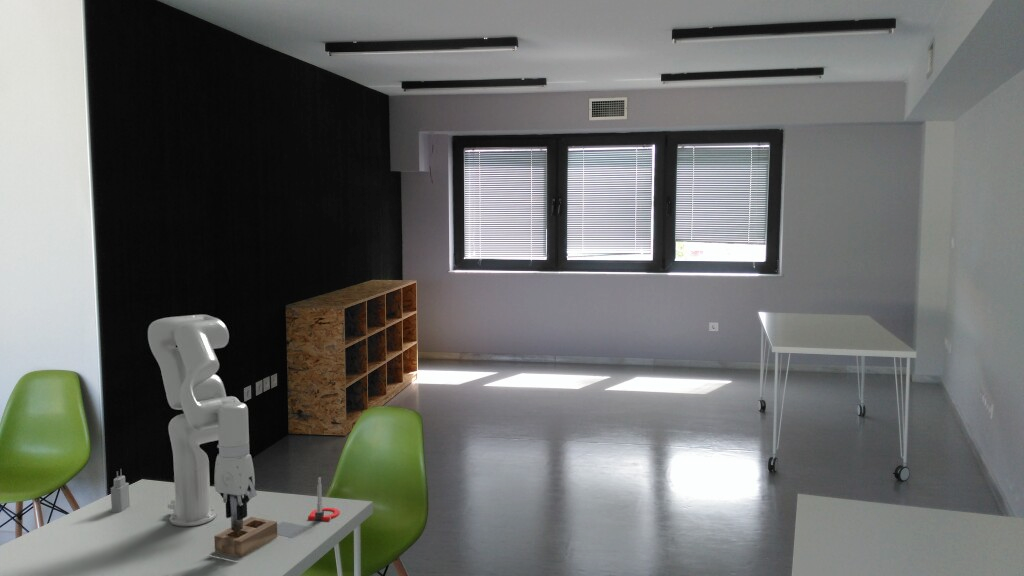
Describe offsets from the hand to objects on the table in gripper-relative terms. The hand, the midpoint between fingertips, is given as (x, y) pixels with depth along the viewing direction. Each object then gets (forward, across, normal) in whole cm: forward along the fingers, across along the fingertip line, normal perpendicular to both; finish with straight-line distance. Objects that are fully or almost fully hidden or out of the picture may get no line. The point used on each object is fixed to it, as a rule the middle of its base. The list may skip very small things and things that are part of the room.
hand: (236, 516), depth 207 cm
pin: (+3, 0, 0) cm, 3 cm away
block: (+9, 0, +4) cm, 10 cm away
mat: (+9, +4, +16) cm, 19 cm away
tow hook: (+10, +7, +29) cm, 31 cm away
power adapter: (+9, -53, +9) cm, 55 cm away
